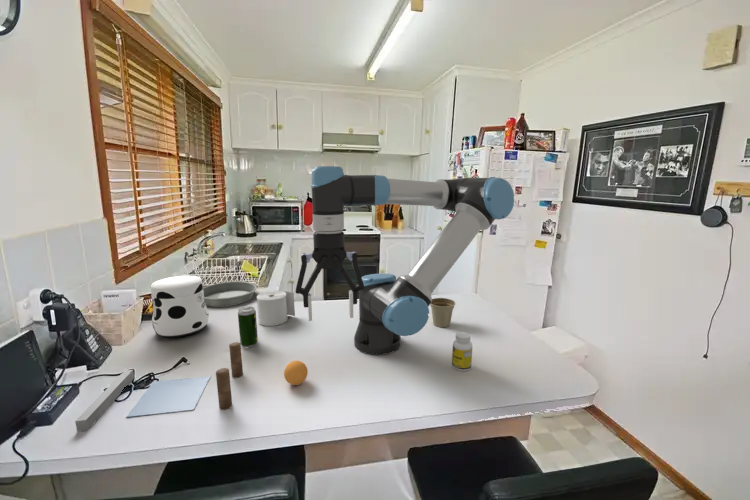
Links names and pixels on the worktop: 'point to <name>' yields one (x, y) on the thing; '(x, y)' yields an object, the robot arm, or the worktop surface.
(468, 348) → the supplement bottle
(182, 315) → the milk container
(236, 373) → the post
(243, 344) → the beer can
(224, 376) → the post
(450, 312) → the flower pot
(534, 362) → the worktop surface
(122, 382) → the wall
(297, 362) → the ball
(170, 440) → the worktop surface
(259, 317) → the toilet tissue
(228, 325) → the worktop surface
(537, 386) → the worktop surface
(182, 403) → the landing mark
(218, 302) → the cake pan
